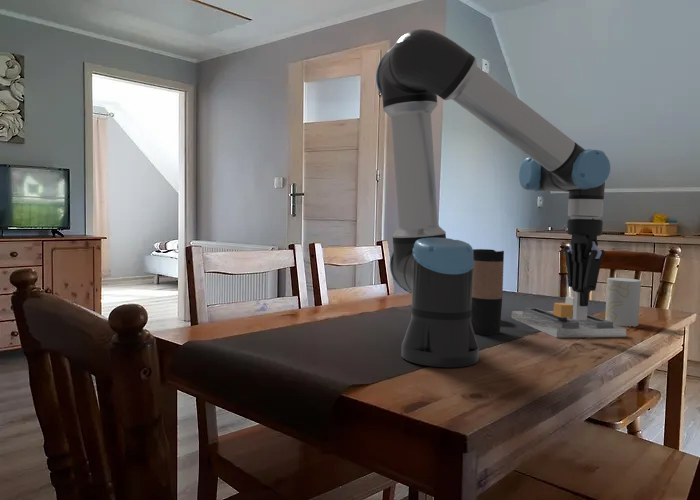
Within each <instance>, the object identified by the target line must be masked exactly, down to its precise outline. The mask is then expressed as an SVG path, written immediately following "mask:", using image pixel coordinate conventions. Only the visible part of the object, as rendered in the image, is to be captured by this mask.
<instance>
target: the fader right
mask: <svg viewBox="0 0 700 500" xmlns="http://www.w3.org/2000/svg"><path fill="white" fill-rule="evenodd" d="M573 298H574V296H565V301H564V303H567V304H571V305H573Z"/></svg>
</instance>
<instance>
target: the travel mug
mask: <svg viewBox="0 0 700 500" xmlns="http://www.w3.org/2000/svg"><path fill="white" fill-rule="evenodd" d="M472 249H473V258H474V267H473V287H472V308H471V323H472V327H473V330H474V334H475V335H480V336H483V335H484V336H497V335H499V334H500V332H501V322H502V321H501V320H502V308H503V306H502V305H503V292H504V291H503V289H504V287H503V286H504V263H505V262H504V260H505V259H504V256H505V255H504V254H505V252H504V250H501V251H500V250H499V251H497V250H495V249H488V248H487V249H486V248H476V249H475V248H472Z"/></svg>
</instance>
